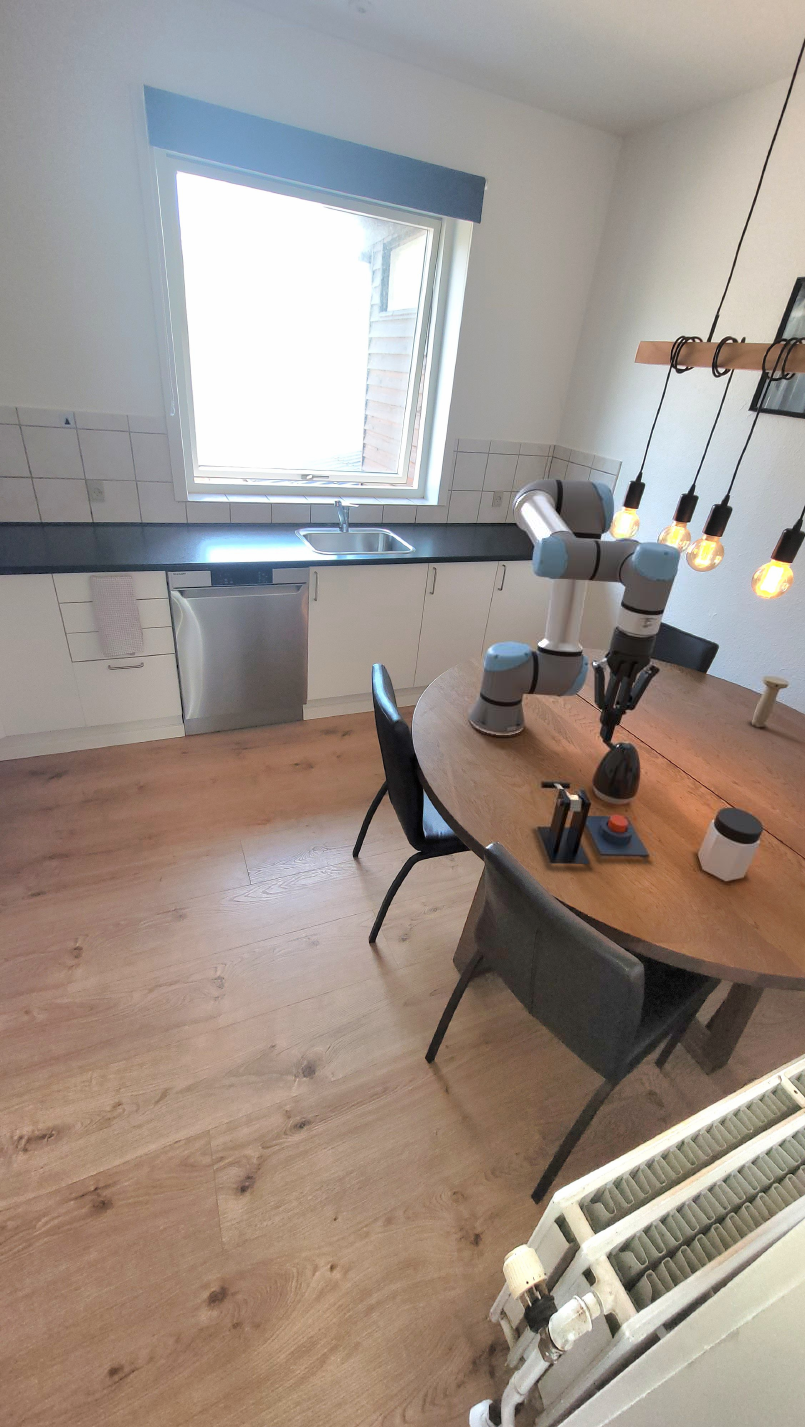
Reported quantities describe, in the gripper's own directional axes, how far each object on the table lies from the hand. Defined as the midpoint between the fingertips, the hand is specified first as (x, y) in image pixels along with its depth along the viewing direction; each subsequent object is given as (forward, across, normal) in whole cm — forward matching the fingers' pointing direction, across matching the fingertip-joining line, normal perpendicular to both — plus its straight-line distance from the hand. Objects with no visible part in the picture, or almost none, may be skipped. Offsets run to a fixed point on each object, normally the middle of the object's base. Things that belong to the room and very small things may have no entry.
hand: (605, 737), depth 120 cm
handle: (+22, +69, +44) cm, 85 cm away
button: (+17, +4, -8) cm, 19 cm away
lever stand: (+21, -8, -11) cm, 25 cm away
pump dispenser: (+21, +9, +7) cm, 24 cm away
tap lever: (+12, -8, -6) cm, 15 cm away
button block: (+21, +4, -8) cm, 23 cm away
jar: (+21, +24, -15) cm, 35 cm away
